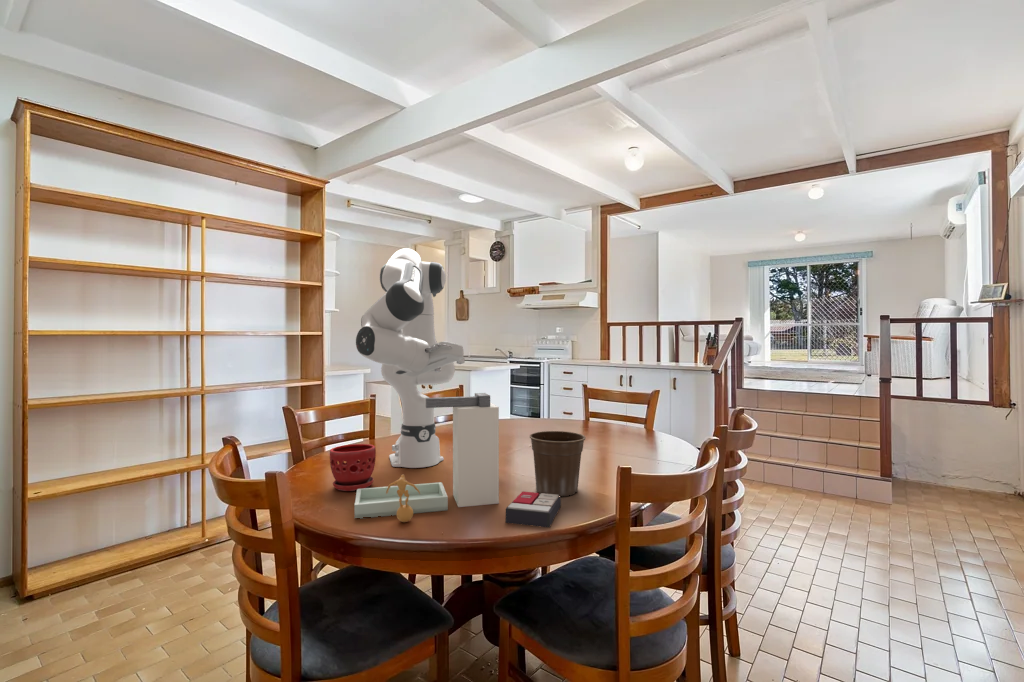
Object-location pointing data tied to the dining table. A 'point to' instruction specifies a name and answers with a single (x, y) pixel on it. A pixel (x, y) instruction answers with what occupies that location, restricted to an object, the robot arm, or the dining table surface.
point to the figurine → (404, 510)
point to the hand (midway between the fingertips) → (450, 365)
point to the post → (476, 455)
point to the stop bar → (459, 401)
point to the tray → (383, 504)
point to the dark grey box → (533, 509)
